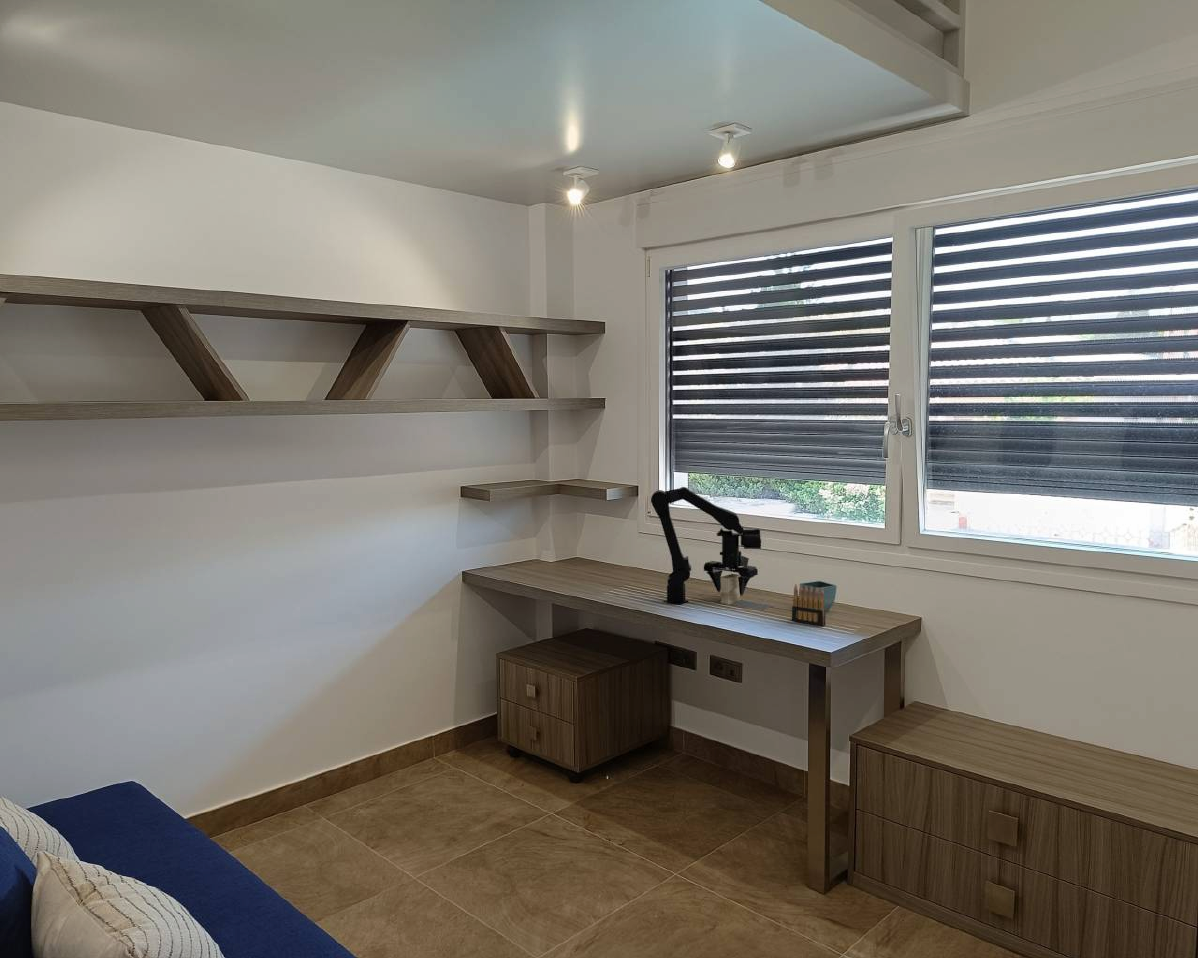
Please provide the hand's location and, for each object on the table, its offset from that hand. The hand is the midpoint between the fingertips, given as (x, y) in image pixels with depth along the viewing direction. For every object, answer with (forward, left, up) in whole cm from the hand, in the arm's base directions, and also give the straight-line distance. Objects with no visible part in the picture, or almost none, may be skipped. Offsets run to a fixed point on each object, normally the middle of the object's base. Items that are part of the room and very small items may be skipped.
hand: (730, 593), depth 315 cm
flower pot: (+8, -29, -3) cm, 30 cm away
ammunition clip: (-9, -35, -3) cm, 36 cm away
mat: (0, -6, -3) cm, 7 cm away
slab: (0, 0, -3) cm, 3 cm away
